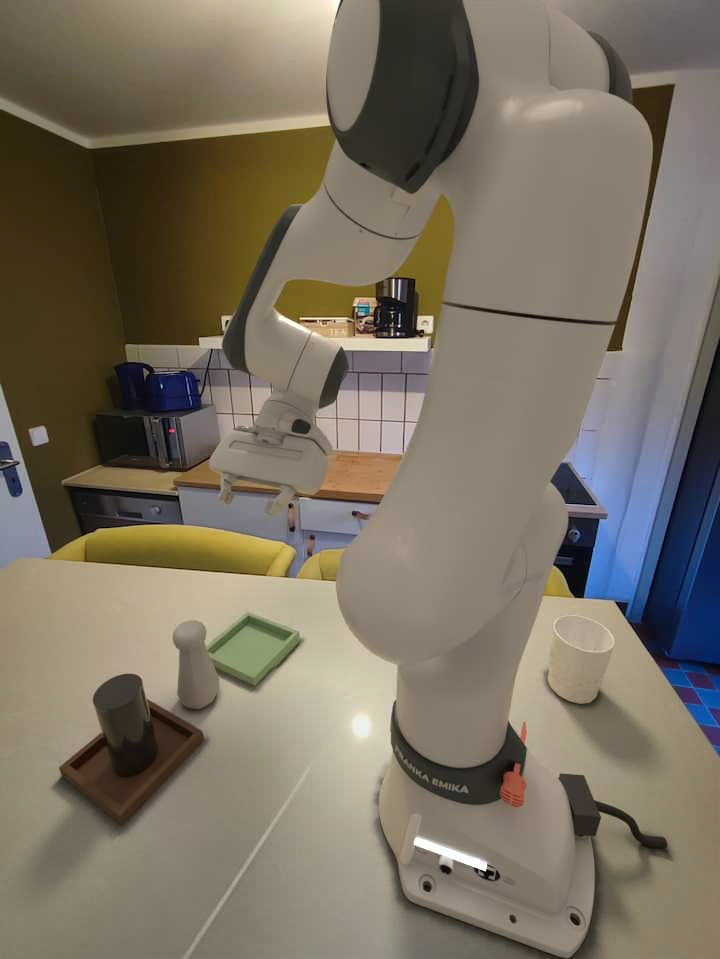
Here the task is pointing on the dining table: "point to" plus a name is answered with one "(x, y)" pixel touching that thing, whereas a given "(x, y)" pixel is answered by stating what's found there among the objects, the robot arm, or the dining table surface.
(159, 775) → the dark tray
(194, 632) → the salt shaker
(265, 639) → the light tray
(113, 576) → the dining table surface
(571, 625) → the white cup
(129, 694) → the pepper shaker
